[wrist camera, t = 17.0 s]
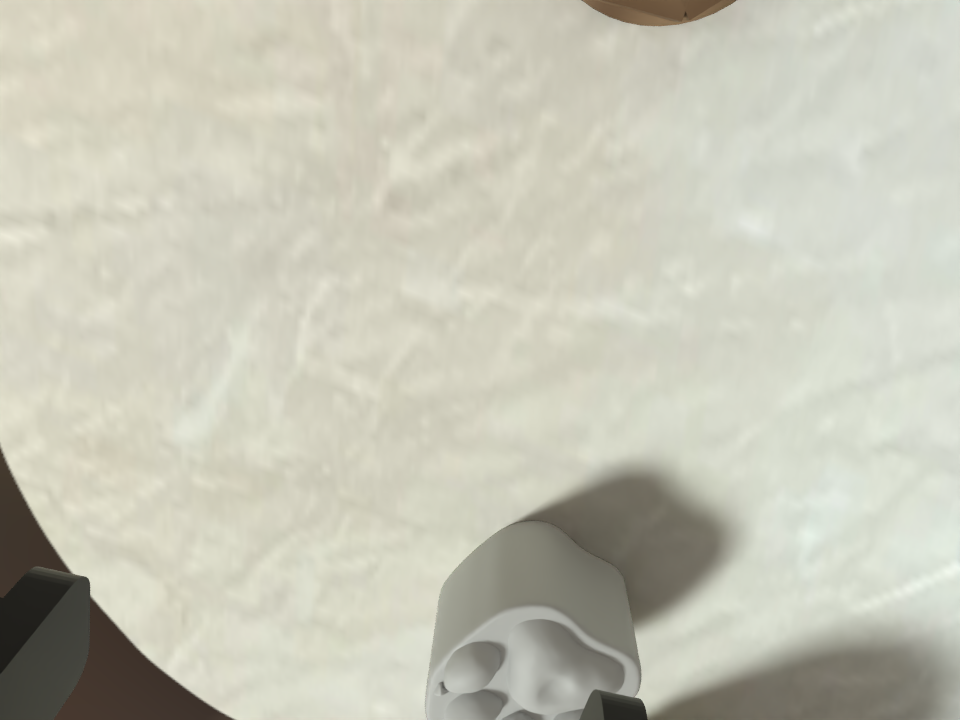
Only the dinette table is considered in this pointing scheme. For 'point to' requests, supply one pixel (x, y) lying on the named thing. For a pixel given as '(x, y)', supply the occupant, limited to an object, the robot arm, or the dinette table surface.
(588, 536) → the dinette table surface
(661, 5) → the ring dish
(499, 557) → the lumpy-topped squat cylinder
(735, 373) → the dinette table surface
